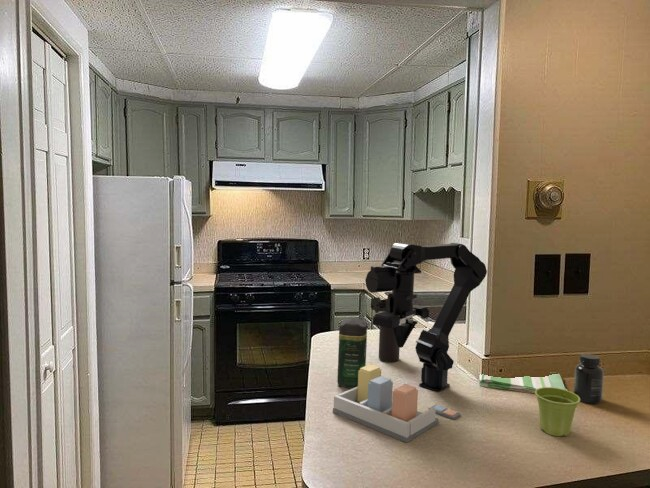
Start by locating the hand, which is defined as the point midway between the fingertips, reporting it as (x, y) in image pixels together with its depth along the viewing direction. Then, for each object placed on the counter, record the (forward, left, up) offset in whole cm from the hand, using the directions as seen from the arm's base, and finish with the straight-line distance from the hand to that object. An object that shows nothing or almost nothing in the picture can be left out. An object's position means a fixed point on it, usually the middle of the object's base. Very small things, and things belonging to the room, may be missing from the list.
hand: (400, 347), depth 133 cm
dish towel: (-20, -34, -14) cm, 42 cm away
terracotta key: (-13, +17, -12) cm, 24 cm away
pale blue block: (-6, +17, -12) cm, 21 cm away
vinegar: (+19, -22, -13) cm, 32 cm away
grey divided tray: (-6, +15, -13) cm, 21 cm away
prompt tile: (-15, +2, -13) cm, 20 cm away
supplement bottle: (-38, -34, -13) cm, 53 cm away
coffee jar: (+14, +3, -13) cm, 20 cm away
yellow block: (+1, +12, -12) cm, 17 cm away
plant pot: (-38, -8, -13) cm, 41 cm away
